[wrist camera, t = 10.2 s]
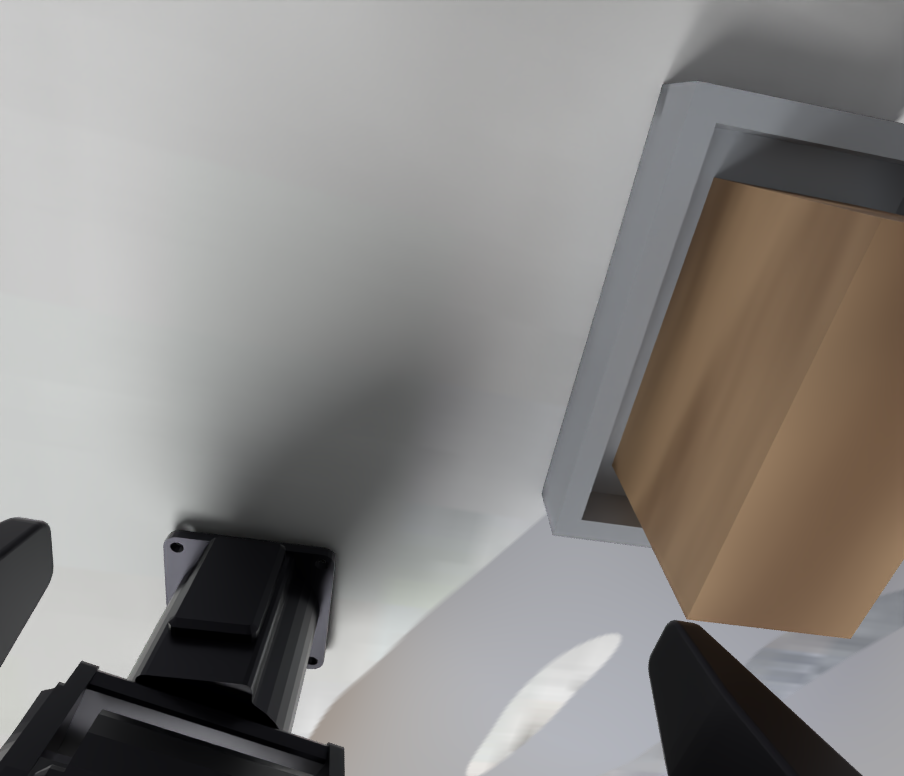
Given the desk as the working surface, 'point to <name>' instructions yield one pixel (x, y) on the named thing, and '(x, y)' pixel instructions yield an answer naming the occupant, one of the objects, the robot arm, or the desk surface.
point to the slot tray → (664, 250)
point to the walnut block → (776, 414)
